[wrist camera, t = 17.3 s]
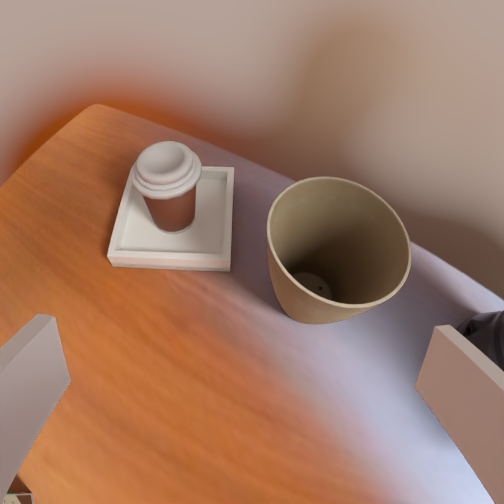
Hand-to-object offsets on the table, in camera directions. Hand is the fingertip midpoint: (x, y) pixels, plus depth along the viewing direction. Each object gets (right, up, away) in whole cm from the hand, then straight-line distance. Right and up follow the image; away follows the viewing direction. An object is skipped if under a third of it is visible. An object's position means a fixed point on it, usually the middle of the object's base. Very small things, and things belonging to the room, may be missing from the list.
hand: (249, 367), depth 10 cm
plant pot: (+7, -3, +34) cm, 35 cm away
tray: (-11, +9, +38) cm, 41 cm away
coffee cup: (-12, +9, +37) cm, 40 cm away
